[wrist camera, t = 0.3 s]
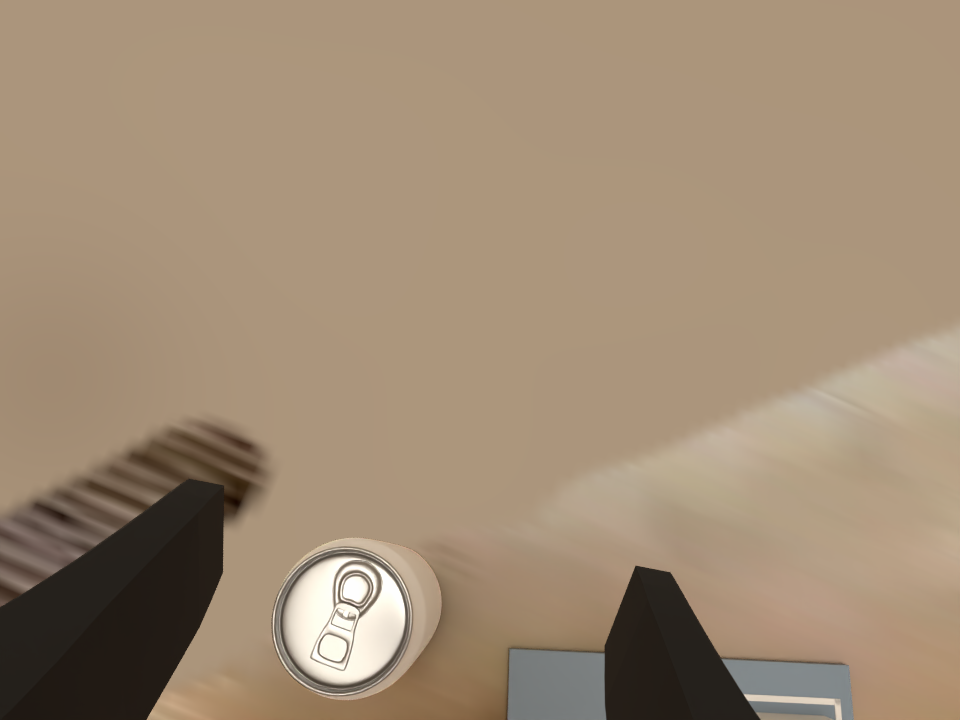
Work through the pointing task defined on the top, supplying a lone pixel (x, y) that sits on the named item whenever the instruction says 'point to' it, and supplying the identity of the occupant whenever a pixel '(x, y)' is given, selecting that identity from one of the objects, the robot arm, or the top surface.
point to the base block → (790, 716)
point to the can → (355, 616)
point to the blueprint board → (766, 684)
